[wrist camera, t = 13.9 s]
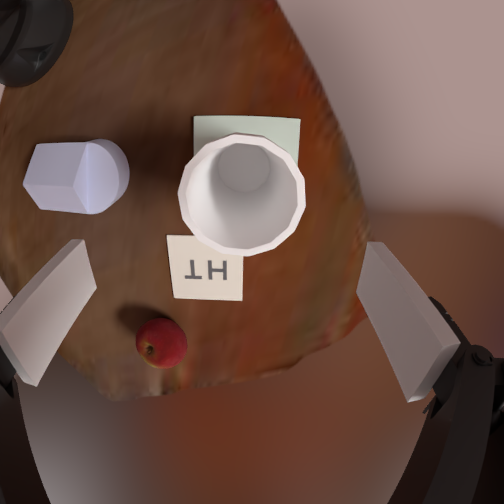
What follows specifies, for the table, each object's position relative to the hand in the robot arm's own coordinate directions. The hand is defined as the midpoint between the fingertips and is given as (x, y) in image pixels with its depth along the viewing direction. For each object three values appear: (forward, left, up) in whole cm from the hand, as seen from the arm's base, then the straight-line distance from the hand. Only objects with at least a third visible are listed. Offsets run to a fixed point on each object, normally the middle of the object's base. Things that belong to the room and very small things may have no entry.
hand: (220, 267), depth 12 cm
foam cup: (0, +1, -23) cm, 23 cm away
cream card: (+14, -4, -23) cm, 27 cm away
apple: (+25, -11, -23) cm, 36 cm away
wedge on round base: (0, -20, -23) cm, 31 cm away
